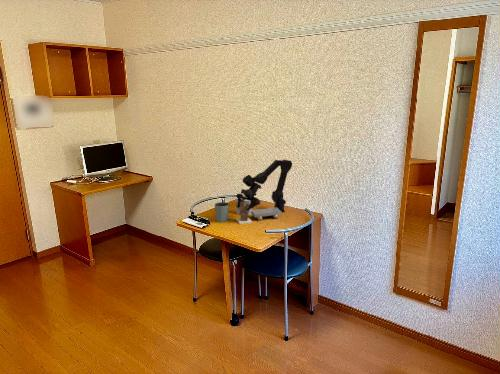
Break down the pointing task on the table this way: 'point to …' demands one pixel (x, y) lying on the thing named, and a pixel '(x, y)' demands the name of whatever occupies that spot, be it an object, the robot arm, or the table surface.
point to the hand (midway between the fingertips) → (242, 209)
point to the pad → (244, 221)
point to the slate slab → (266, 213)
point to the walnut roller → (243, 210)
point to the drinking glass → (221, 211)
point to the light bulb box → (239, 207)
